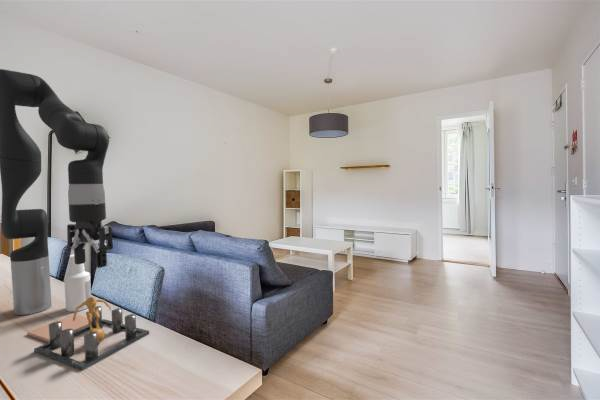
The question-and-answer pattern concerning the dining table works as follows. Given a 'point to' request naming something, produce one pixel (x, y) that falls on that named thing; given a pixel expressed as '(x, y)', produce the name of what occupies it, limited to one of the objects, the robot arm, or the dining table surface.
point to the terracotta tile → (66, 324)
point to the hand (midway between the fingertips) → (90, 265)
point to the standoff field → (89, 339)
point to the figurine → (91, 306)
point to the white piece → (76, 286)
